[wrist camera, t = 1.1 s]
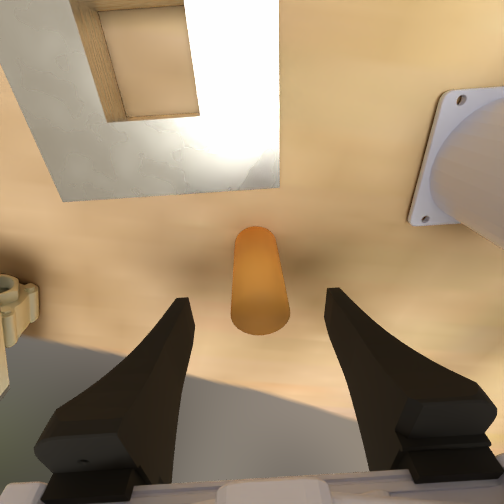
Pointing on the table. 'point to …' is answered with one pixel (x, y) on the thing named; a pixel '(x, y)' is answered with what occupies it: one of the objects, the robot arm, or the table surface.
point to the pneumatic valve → (14, 318)
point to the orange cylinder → (258, 284)
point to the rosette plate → (147, 127)
